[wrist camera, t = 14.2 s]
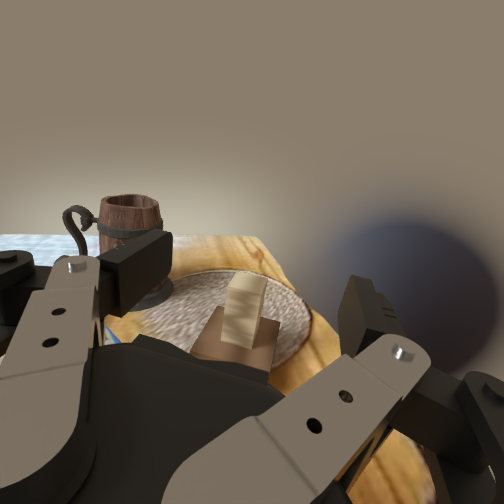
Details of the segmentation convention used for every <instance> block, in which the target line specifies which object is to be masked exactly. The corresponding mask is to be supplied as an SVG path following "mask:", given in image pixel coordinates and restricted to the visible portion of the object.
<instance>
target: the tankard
mask: <svg viewBox="0 0 504 504" xmlns="http://www.w3.org/2000/svg"><path fill="white" fill-rule="evenodd" d="M72 212H77V213H78V214H80V215H81V218H80V219H81V225H82V228H81V231H86V230H87V229H88V228H89V227H90V226H91V225H92V223H93V222H94V223H97V229H98V230H99V245H100V255H101V254H103V253H105V252H107V251H108V250H110V249H112V248H115V247H116V246H118V245H120V244H122V243H123V242H125V241H127V240H129V239H132V238H136V237H140V236H142V235H144V234H145V233H147V232H149V231H151V230H153V229H158V230H163V220H162V218H161V215H160V210H159V204H158V202H157V201H156V200H154V199H152V198H150V197H147V196H144V195H138V194H124V195H118V196H107V197H105V198H103V199H102V200H101V205H100V214H99V218H94V216H93V214H92V213H91V212H90V211H89V210H88V209H86V208H85V207H82V206H79V205H74V206H71V207H70V208H68V209H66V210H65V211H64V212H63V217H62V218H63V222H64V224H65V226H66V228H67V230H68V231H69V233H70V234H71V235H72V237H73V238H74V240H75V241H76V243H77V246H78V249H79V256H81V255H84V256H88V250H87V244H86V241H85V238H84V236H83V235H82V233H81V232H80V230H79V229H78V228H77V226H76V225H75V223H74V221H73V219H72ZM67 257H70V256H67V255H63V256H60V257H59V258H58V259H57V260H56V261H55V262H54V264H55V263H56V262H57V261H59V260H61V259H63V258H67ZM173 287H174V286H173V283H172V282H171V280H170V279H169V278H168V277H166V278H165V279H164V280H162V281H161V282H160V283H159V284H158V285H157V286H156V287H155V288H154V289H153V290H152V291H150V292H149V293H148V294H147V295H146V296H145V297H144V298H143V299H142V300H141V301H139V302H138V303H137V304H136V305H135V306H134V307H133V308H132V309H131V310H130V311H128V312H133V311H141V310H145V309H149V308H152V307H155V306H157V305H159V304H161V303H163V302H164V301H165V300H167V299H168V298H169V297H170V296H171V294H172V292H173Z"/></svg>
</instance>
